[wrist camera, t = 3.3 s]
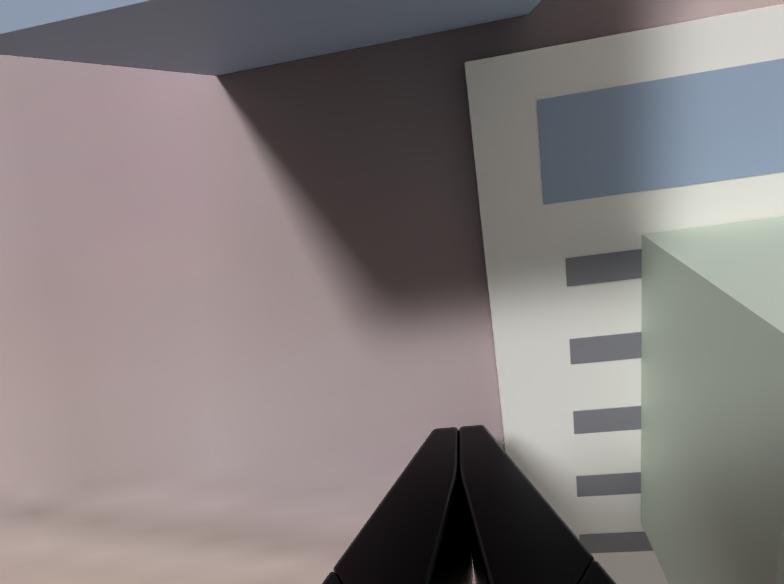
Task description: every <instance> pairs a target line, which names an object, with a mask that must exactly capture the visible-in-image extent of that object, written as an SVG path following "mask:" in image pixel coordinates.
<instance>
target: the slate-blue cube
mask: <svg viewBox="0 0 784 584" xmlns="http://www.w3.org/2000/svg"><path fill="white" fill-rule="evenodd" d="M541 1H542V0H0V54H2V55H13V56H23V57H33V58H43V59H53V60H63V61H73V62H83V63H93V64H103V65H113V66H123V67H133V68H143V69H153V70H163V71H173V72H183V73H193V74H203V75H213V76H217V75H222V74H228V73H233V72H238V71H243V70H248V69H253V68H258V67H263V66H268V65H273V64H278V63H284V62H289V61H294V60H299V59H304V58H309V57H314V56H319V55H324V54H329V53H334V52H340V51H345V50H350V49H355V48H360V47H365V46H370V45H375V44H380V43H385V42H390V41H396V40H401V39H406V38H411V37H416V36H421V35H426V34H431V33H436V32H441V31H446V30H451V29H457V28H462V27H467V26H472V25H477V24H482V23H487V22H492V21H497V20H502V19H507V18H513V17H518V16H523V15H528V14H529V13H530V12H531V11H532V10H533V9H534V8H535V7H536V6H537V5H538V4H539V3H540V2H541Z"/></svg>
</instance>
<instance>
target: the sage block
mask: <svg viewBox="0 0 784 584" xmlns="http://www.w3.org/2000/svg"><path fill="white" fill-rule="evenodd" d="M641 524H642V527H643V529H644V531H645V533H646V535H647V537H648V540H649V542H650V544H651V546H652V548H653V551H654V553H655V555H656V557H657V559H658V561H659V564H660V566H661V568H662V570H663V572H664V574H665V577H666V579H667V581H668V583H669V584H784V216H782V217H774V218H766V219H759V220H751V221H743V222H735V223H727V224H719V225H711V226H704V227H696V228H688V229H680V230H672V231H664V232H656V233H649V234H642V331H641Z"/></svg>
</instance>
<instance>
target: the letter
mask: <svg viewBox="0 0 784 584" xmlns="http://www.w3.org/2000/svg"><path fill="white" fill-rule="evenodd" d="M464 64H465V74H466V83H467V93H468V102H469V112H470V121H471V131H472V140H473V150H474V159H475V169H476V178H477V188H478V197H479V207H480V216H481V226H482V235H483V245H484V254H485V264H486V273H487V282H488V292H489V301H490V311H491V320H492V330H493V339H494V349H495V358H496V368H497V377H498V387H499V396H500V406H501V415H502V425H503V434H504V444H505V451H506V453H507V454H508V455H509V456H510V457H511V459H512V460H513V461H514V462H515V463H516V465H517V466H518V467H519V468H520V469H521V471H522V472H523V473H524V474H525V475H526V477H527V478H528V479H529V480H530V481H531V483H532V484H533V485H534V486H535V487H536V489H537V490H538V491H539V492H540V493H541V495H542V496H543V497H544V498H545V499H546V500H547V502H548V503H549V504H550V505H551V506H552V508H553V509H554V510H555V511H556V512H557V514H558V515H559V516H560V517H561V518H562V520H563V521H564V522H565V523H566V524H567V526H568V527H569V528H570V529H571V530H572V532H573V533H574V534H575V535H576V536H577V538H578V539H579V540H580V541H581V542H582V544H583V545H584V546H585V547H586V548H587V550H588V551H589V552H590V553H591V554H592V556H593V557H594V560H595V561H597V562H599V564H600V565H601V566H602V567H603V568H604V570H605V571H606V572H607V573H608V574H609V576H610V577H611V578H612V579H613V580H614V582H615V583H616V584H669V583H668V581H667V579H666V577H665V574H664V572H663V570H662V568H661V566H660V564H659V561H658V559H657V557H656V555H655V553H654V551H653V548H652V546H651V544H650V542H649V540H648V537H647V535H646V533H645V531H644V529H643V527H642V524H641V331H642V234H649V233H656V232H664V231H672V230H680V229H688V228H696V227H704V226H711V225H719V224H727V223H735V222H743V221H751V220H759V219H766V218H774V217H782V216H784V4H779V5H774V6H768V7H763V8H757V9H752V10H747V11H741V12H736V13H730V14H725V15H719V16H714V17H708V18H703V19H697V20H692V21H686V22H681V23H676V24H670V25H665V26H659V27H654V28H648V29H643V30H637V31H632V32H626V33H621V34H616V35H610V36H605V37H599V38H594V39H588V40H583V41H577V42H572V43H566V44H561V45H555V46H550V47H545V48H539V49H534V50H528V51H523V52H517V53H512V54H506V55H501V56H495V57H490V58H484V59H479V60H474V61H468V62H465V63H464Z"/></svg>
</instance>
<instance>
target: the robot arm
mask: <svg viewBox="0 0 784 584" xmlns="http://www.w3.org/2000/svg"><path fill="white" fill-rule="evenodd" d="M472 560H473V566H474V572H475V578H476V584H616V583H615V582H614V580H613V579H612V578H611V577H610V576H609V574H608V573H607V572H606V571H605V570H604V568H603V567H602V566H601V565H600V564H599V562H597V561H595V560H594V557H593V556H592V554H591V553H590V552H589V551H588V550H587V548H586V547H585V546H584V545H583V544H582V542H581V541H580V540H579V539H578V538H577V536H576V535H575V534H574V533H573V532H572V530H571V529H570V528H569V527H568V526H567V524H566V523H565V522H564V521H563V520H562V518H561V517H560V516H559V515H558V514H557V512H556V511H555V510H554V509H553V508H552V506H551V505H550V504H549V503H548V502H547V500H546V499H545V498H544V497H543V496H542V495H541V493H540V492H539V491H538V490H537V489H536V487H535V486H534V485H533V484H532V483H531V481H530V480H529V479H528V478H527V477H526V475H525V474H524V473H523V472H522V471H521V469H520V468H519V467H518V466H517V465H516V463H515V462H514V461H513V460H512V459H511V457H510V456H509V455H508V454H507V453H506V451H505V450H504V449H503V448H502V447H501V445H500V444H499V443H498V442H497V441H496V439H495V438H494V437H493V436H492V435H491V433H490V432H489V431H488V430H487V429H486V428H485V427H484V426H483V425H475V426H463V427H461V428H460V429H459V430H458V429H457V428H455V427H451V428H439V429H434V430H433V431H432V432H431V434H430V435H429V436H428V438H427V439H426V441H425V442H424V443H423V445H422V446H421V447H420V449H419V450H418V452H417V453H416V454H415V456H414V457H413V459H412V460H411V461H410V463H409V464H408V466H407V467H406V468H405V470H404V471H403V472H402V474H401V475H400V477H399V478H398V479H397V481H396V482H395V484H394V485H393V486H392V488H391V489H390V491H389V492H388V493H387V495H386V496H385V497H384V499H383V500H382V502H381V503H380V504H379V506H378V507H377V509H376V510H375V511H374V513H373V514H372V516H371V517H370V518H369V520H368V521H367V522H366V524H365V525H364V527H363V528H362V529H361V531H360V532H359V534H358V535H357V536H356V538H355V539H354V541H353V542H352V543H351V545H350V546H349V547H348V549H347V550H346V552H345V553H344V554H343V556H342V557H341V559H340V560H339V561H338V563H337V564H336V566H335V567H334V572H330V573H329V575H328V576H327V578H326V579H325V580H324V582H323V583H322V584H472V573H473V568H472Z"/></svg>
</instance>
